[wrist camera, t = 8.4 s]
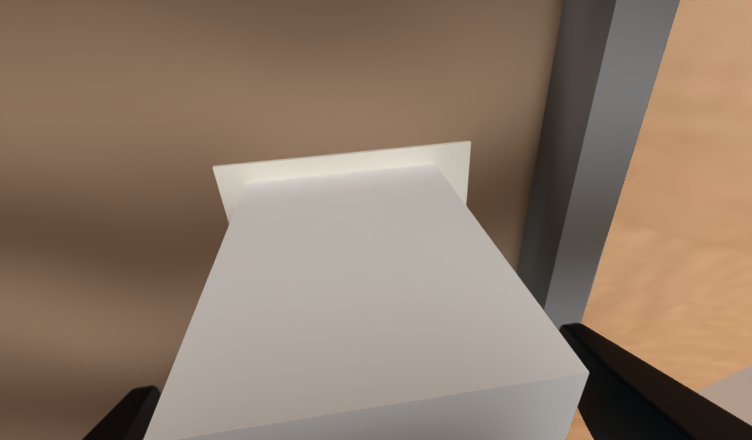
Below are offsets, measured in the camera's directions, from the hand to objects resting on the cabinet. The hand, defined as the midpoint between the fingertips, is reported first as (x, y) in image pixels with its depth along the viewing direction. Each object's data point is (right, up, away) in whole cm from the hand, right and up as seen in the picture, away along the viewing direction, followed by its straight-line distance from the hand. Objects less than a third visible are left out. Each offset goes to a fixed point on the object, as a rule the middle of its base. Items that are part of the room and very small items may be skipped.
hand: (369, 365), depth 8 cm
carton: (0, +1, +2) cm, 3 cm away
